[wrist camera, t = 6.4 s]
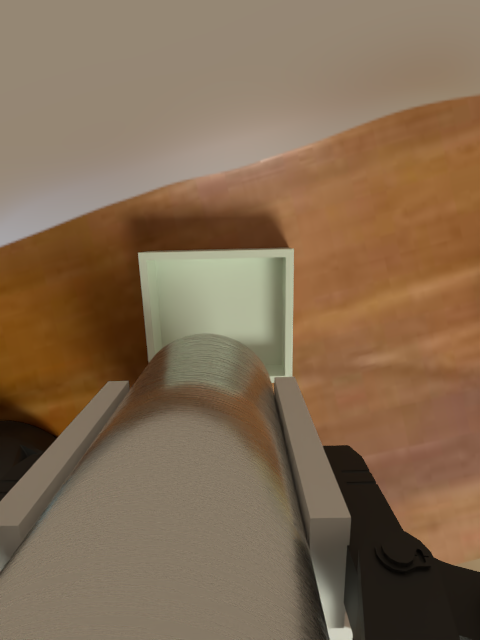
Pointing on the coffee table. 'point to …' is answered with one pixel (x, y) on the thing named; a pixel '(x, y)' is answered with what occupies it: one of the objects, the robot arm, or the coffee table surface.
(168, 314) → the tray
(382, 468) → the coffee table surface
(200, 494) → the shaker
